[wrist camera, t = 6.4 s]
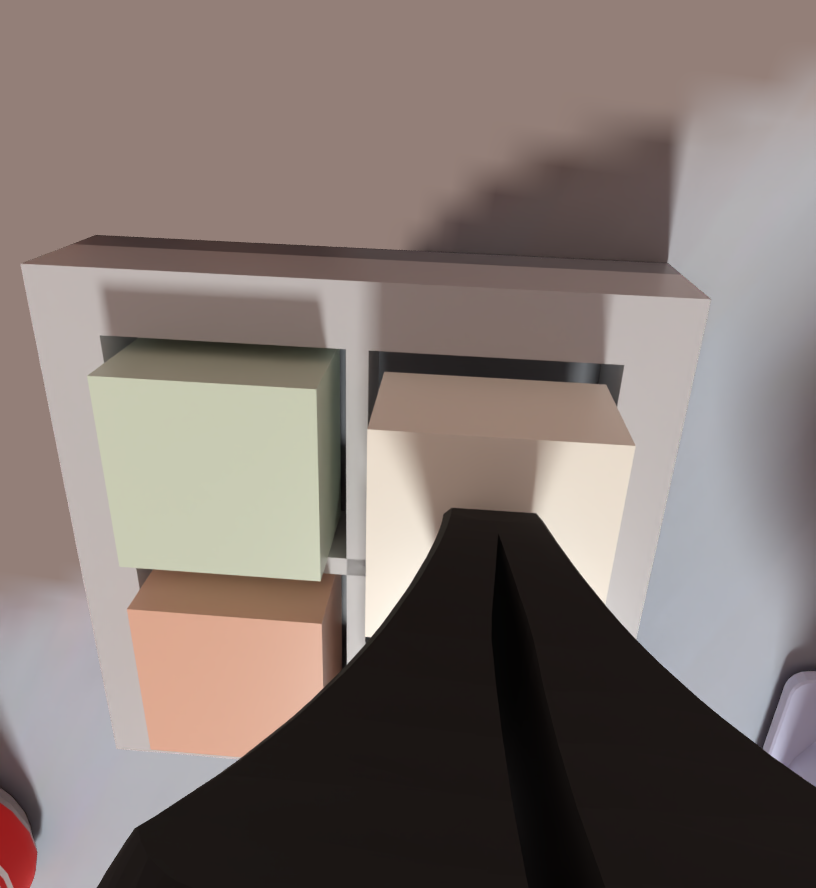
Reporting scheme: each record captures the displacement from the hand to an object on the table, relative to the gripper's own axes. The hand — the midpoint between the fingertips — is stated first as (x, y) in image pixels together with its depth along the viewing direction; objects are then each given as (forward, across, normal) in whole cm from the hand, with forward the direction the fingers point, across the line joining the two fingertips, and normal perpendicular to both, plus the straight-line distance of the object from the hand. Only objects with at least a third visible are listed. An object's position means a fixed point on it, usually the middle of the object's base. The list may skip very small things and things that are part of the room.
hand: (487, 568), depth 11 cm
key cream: (+3, 0, 0) cm, 3 cm away
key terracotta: (+4, +5, +5) cm, 8 cm away
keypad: (+6, +2, +2) cm, 7 cm away
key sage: (+4, +5, 0) cm, 6 cm away
